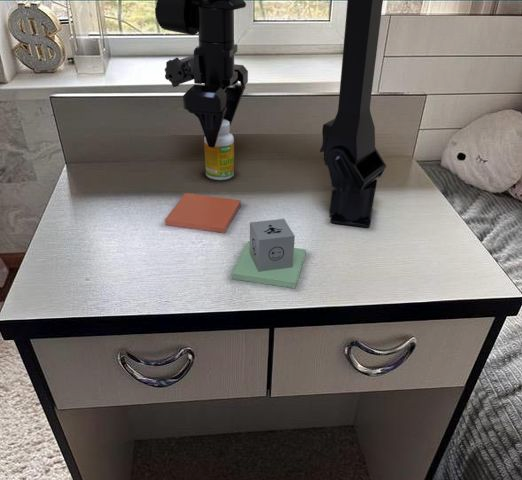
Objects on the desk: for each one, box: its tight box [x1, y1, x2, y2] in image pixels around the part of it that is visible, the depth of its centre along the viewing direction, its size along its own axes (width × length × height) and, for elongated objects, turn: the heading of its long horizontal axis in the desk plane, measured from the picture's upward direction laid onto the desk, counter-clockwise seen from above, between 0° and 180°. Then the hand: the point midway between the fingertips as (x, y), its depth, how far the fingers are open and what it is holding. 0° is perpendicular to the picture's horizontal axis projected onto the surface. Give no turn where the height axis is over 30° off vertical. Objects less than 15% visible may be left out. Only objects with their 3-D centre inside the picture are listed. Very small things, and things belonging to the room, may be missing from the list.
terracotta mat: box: [164, 192, 242, 234], centre depth 87 cm, size 10×10×1 cm
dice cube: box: [249, 218, 296, 272], centre depth 74 cm, size 5×5×5 cm
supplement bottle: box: [203, 119, 235, 181], centre depth 96 cm, size 5×5×10 cm
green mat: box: [231, 240, 307, 289], centre depth 76 cm, size 9×9×1 cm
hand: (219, 137), depth 94 cm, fingers open, 9 cm apart
